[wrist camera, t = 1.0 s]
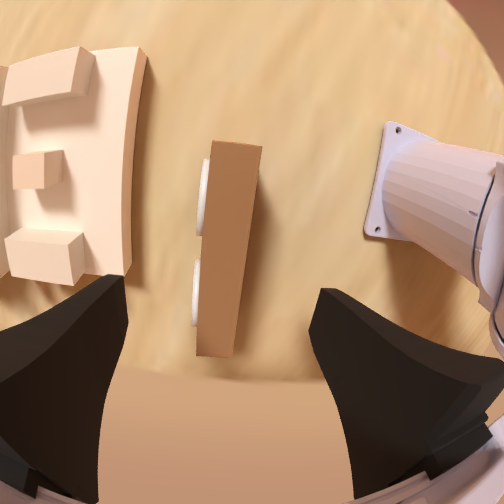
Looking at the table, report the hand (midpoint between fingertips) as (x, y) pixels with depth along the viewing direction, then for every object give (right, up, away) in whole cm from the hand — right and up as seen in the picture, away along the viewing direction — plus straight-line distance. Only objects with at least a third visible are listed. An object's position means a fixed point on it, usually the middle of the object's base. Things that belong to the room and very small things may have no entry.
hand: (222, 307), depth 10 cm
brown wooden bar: (-1, +3, +7) cm, 8 cm away
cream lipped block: (-11, +8, +4) cm, 14 cm away
